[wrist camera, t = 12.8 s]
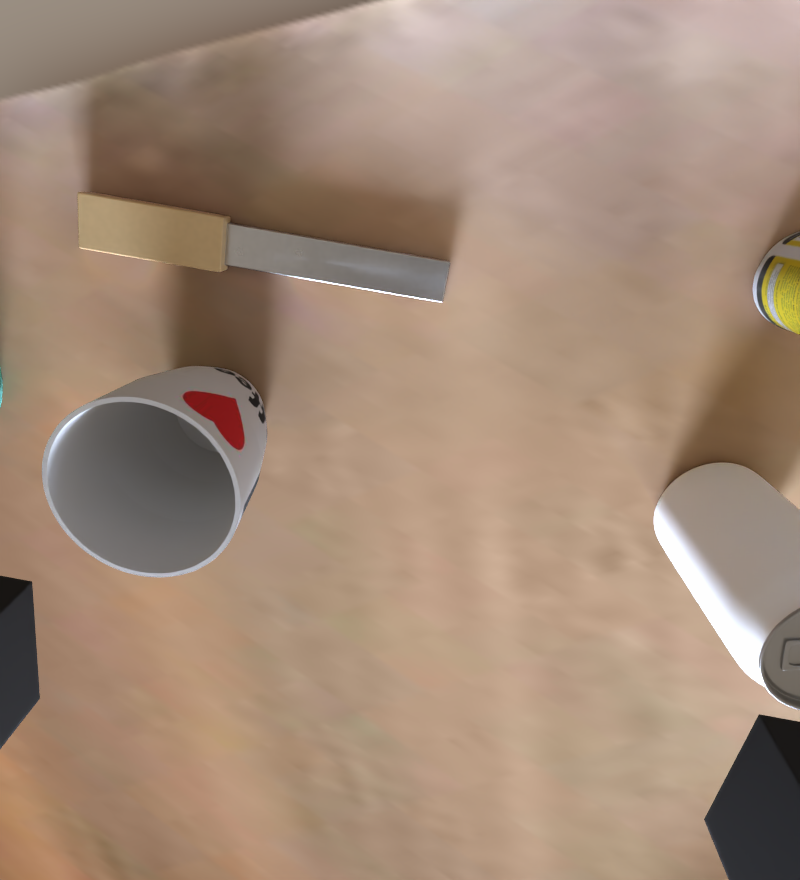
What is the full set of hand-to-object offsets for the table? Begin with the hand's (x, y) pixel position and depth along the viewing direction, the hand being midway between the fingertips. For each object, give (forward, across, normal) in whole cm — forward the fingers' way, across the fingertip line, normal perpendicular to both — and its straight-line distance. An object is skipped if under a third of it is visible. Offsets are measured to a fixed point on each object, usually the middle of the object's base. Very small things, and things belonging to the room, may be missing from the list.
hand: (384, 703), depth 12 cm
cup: (+24, -11, -5) cm, 26 cm away
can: (+24, +17, -6) cm, 30 cm away
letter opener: (+24, -9, +4) cm, 25 cm away
